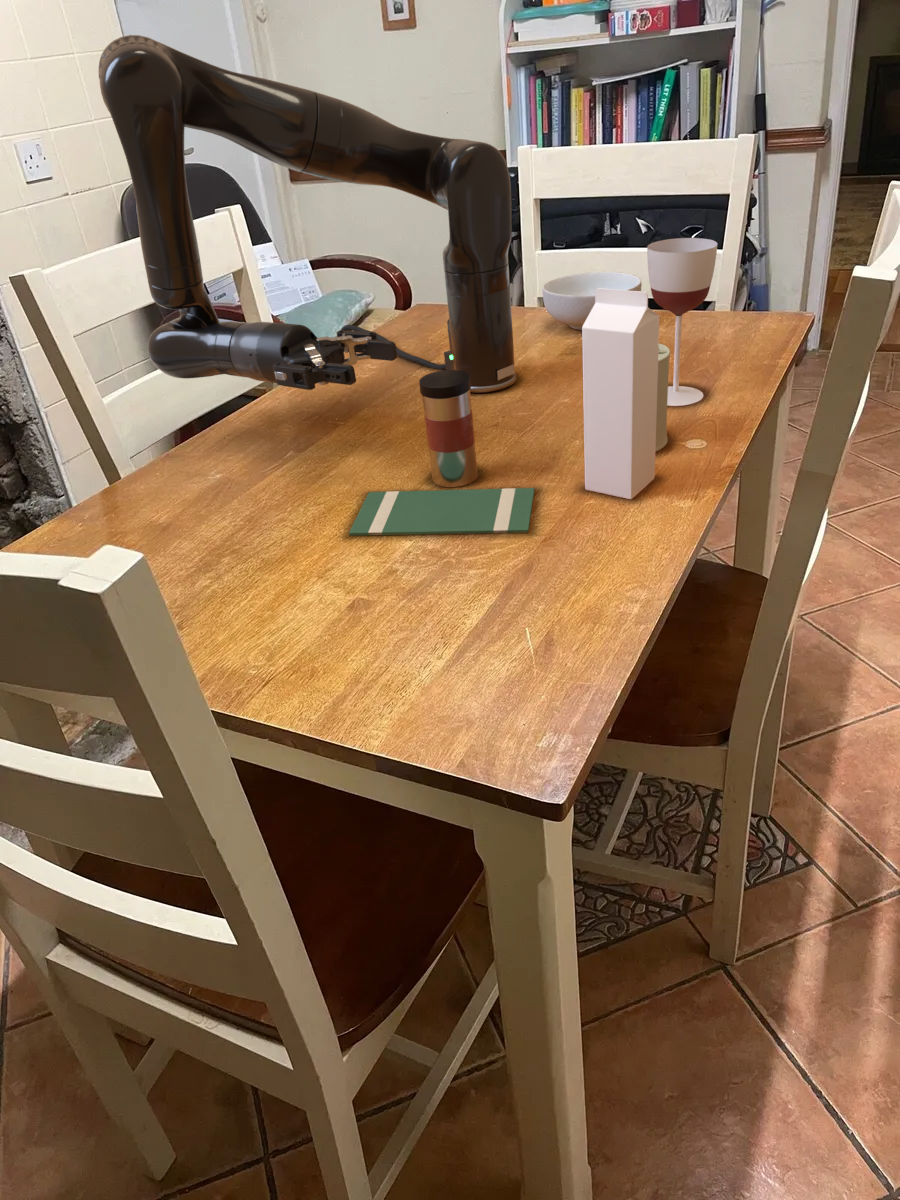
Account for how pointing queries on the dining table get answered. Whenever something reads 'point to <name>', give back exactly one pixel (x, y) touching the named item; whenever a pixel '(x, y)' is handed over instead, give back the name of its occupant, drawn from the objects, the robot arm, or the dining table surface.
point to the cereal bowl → (582, 294)
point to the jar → (449, 427)
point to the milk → (620, 392)
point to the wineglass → (681, 292)
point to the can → (662, 396)
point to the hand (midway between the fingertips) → (374, 363)
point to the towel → (445, 512)
